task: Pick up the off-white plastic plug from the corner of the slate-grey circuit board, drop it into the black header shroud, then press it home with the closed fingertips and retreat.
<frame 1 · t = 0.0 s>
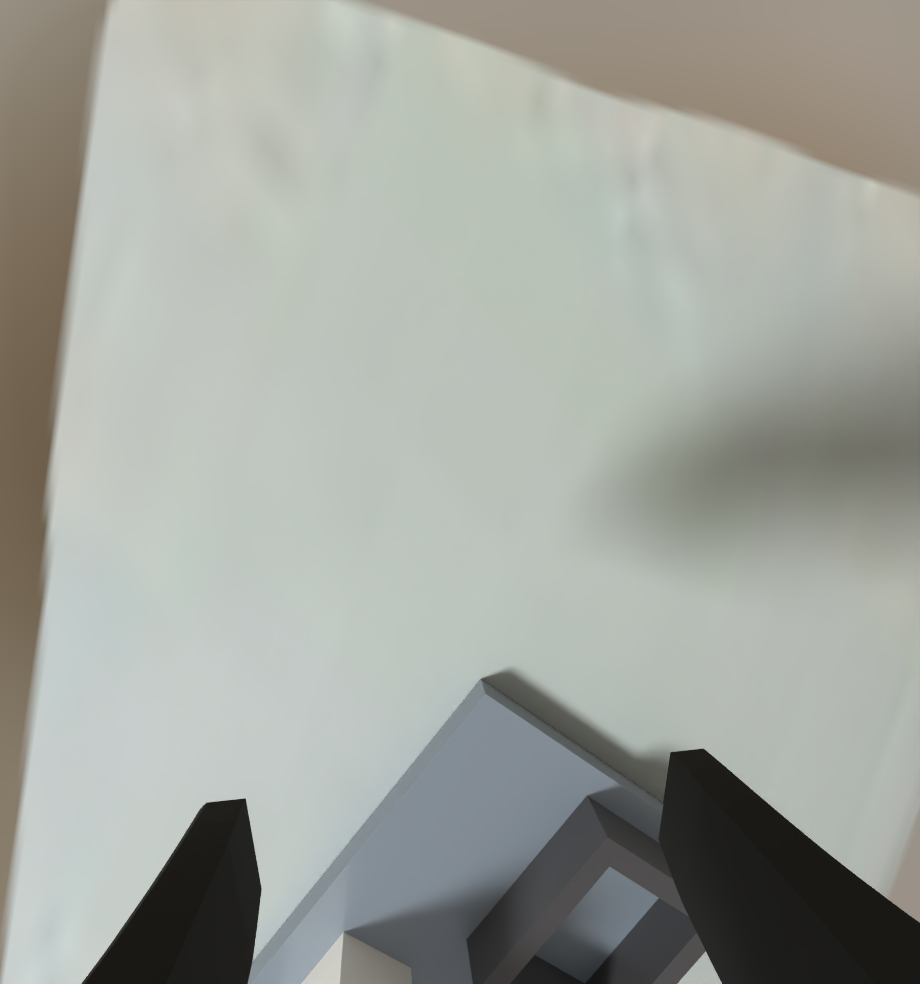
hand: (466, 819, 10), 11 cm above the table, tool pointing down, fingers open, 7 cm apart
board: (481, 912, 23), on the table
header: (587, 905, 22), resting on board
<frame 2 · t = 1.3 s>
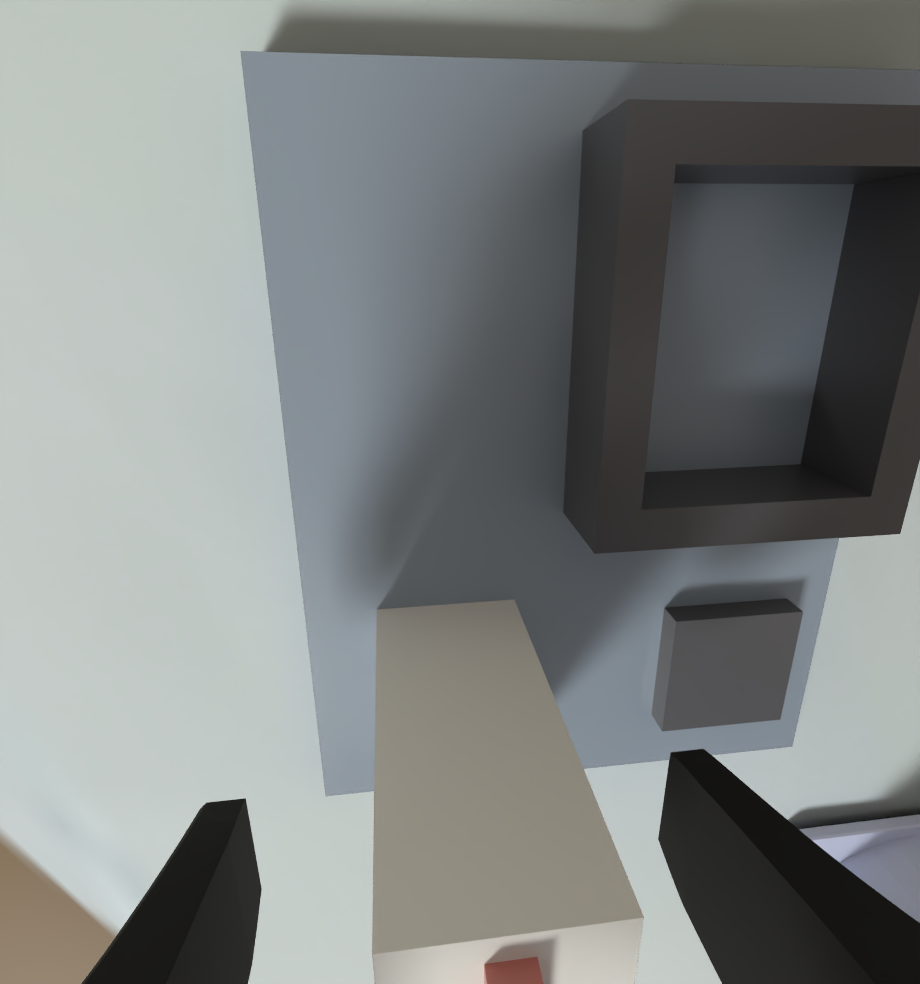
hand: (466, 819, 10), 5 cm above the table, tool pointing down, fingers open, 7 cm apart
board: (573, 473, 13), on the table
header: (721, 337, 12), resting on board
plug: (447, 681, 14), point 1 cm above the table, touching board
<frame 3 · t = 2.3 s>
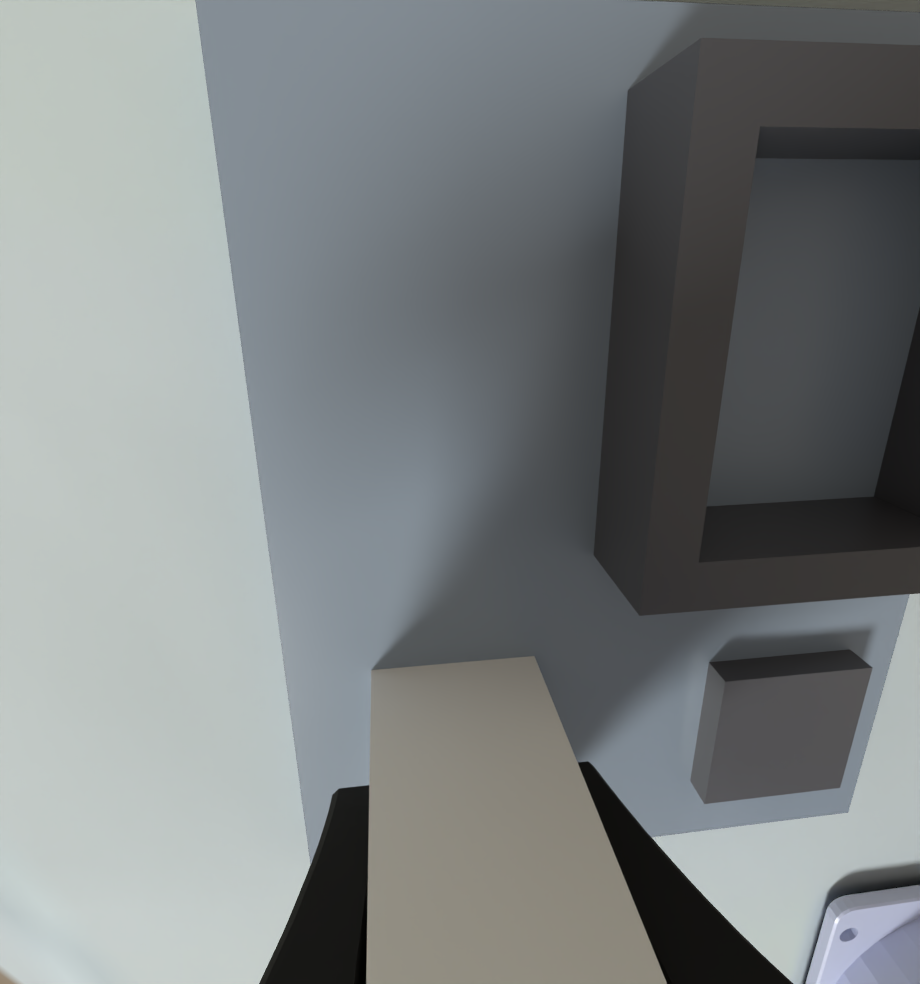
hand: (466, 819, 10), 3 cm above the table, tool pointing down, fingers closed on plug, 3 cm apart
board: (603, 506, 11), on the table
header: (787, 347, 10), resting on board
plug: (455, 749, 12), point 1 cm above the table, touching board, gripper
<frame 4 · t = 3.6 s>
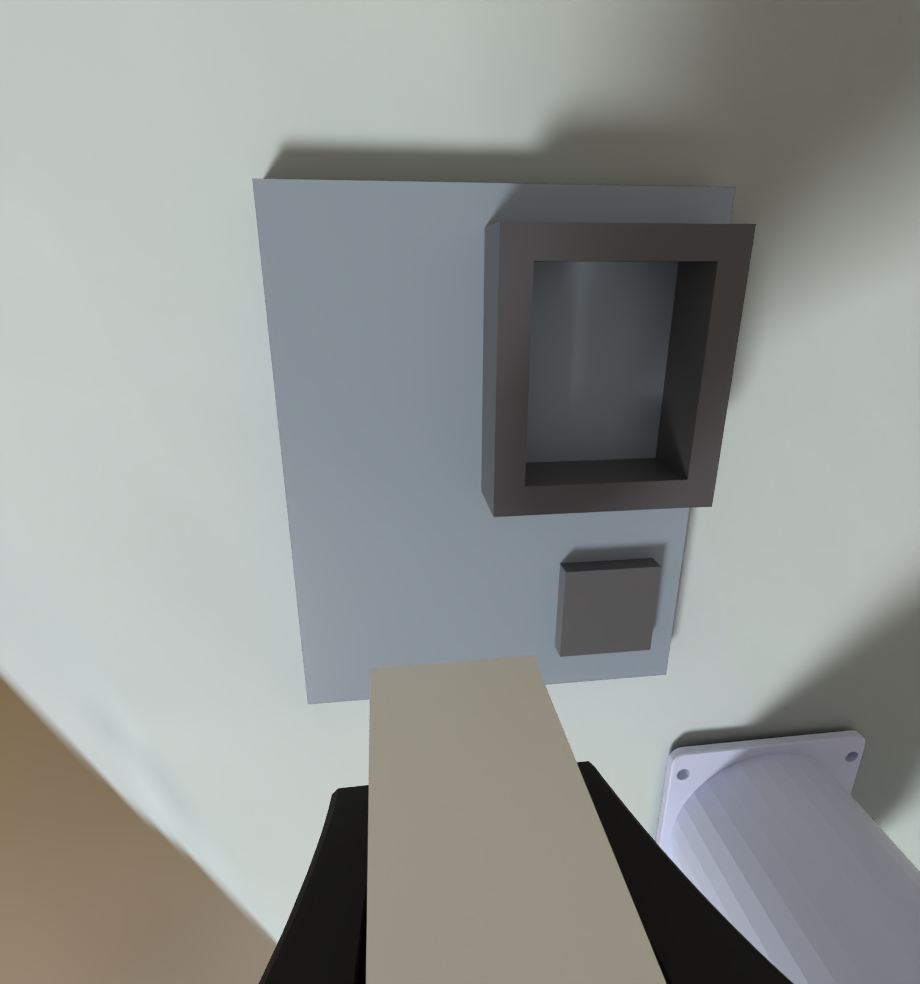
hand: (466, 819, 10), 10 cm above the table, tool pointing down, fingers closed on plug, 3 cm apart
board: (492, 463, 18), on the table
header: (590, 366, 17), resting on board
plug: (453, 748, 12), point 8 cm above the table, touching gripper
when the fingers open (5 cm above the table, at t = 5.3 s): plug drops 3 cm, resting on board.
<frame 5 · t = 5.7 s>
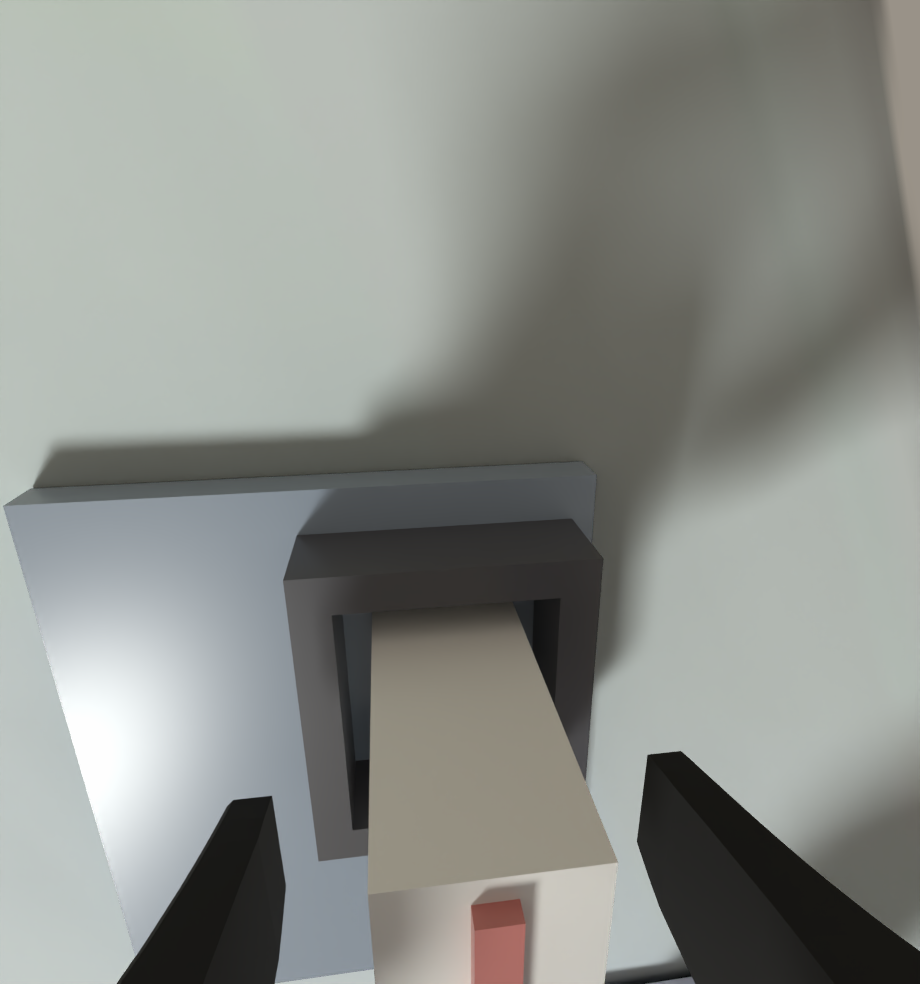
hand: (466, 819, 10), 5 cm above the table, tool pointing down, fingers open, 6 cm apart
board: (346, 742, 16), on the table
header: (441, 662, 14), resting on board
plug: (441, 661, 14), point 1 cm above the table, touching board
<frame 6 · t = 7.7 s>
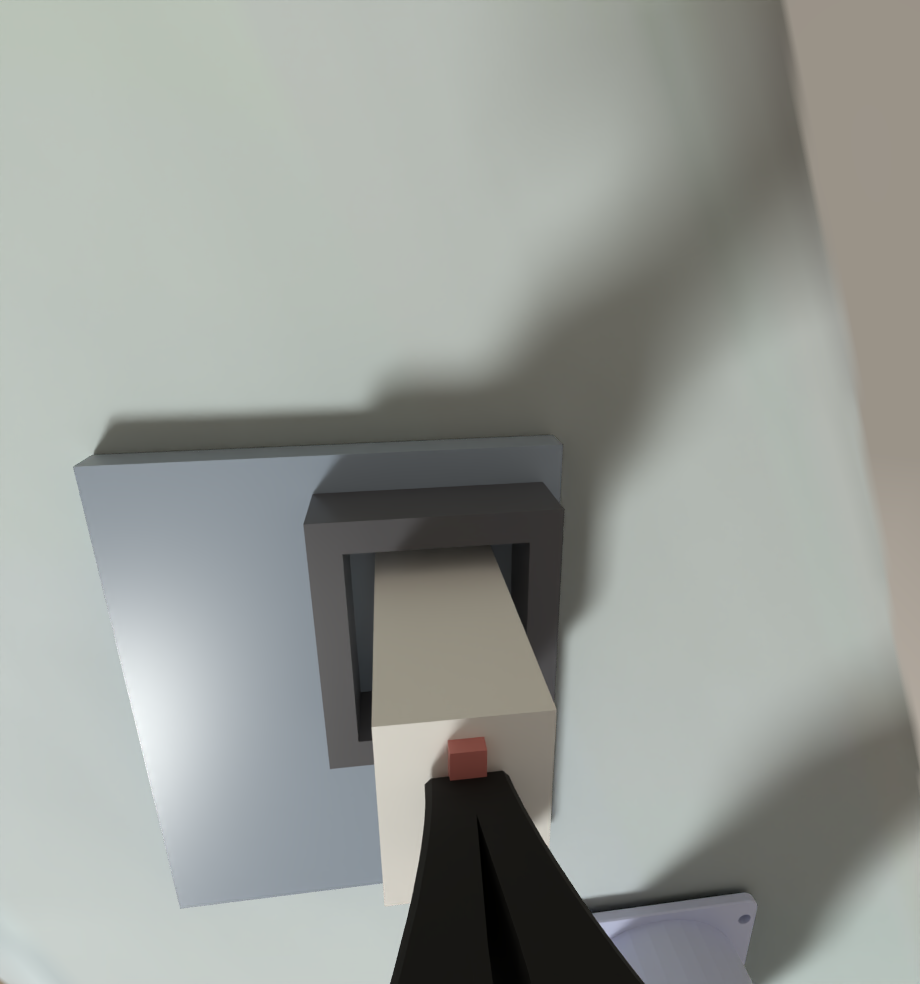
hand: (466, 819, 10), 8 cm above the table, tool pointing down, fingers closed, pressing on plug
board: (352, 679, 19), on the table
header: (433, 605, 17), resting on board
plug: (433, 605, 17), point 1 cm above the table, touching board, gripper
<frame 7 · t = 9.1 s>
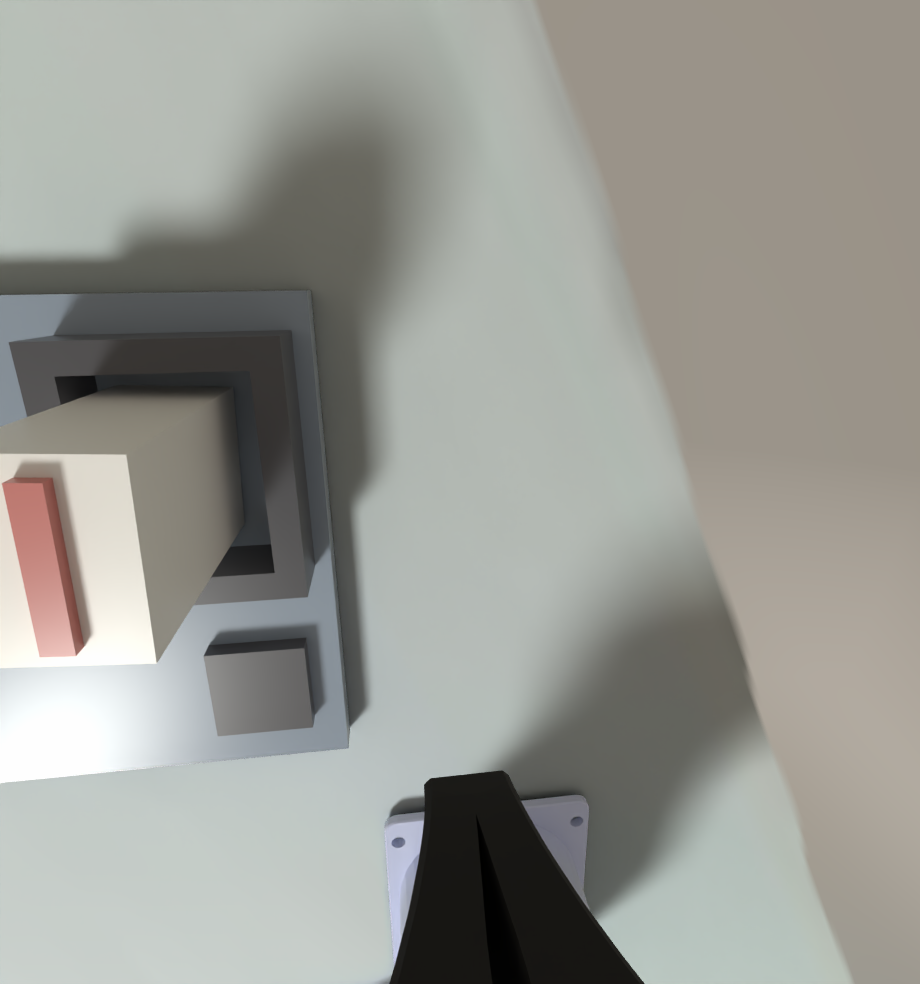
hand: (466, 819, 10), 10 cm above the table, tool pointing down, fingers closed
board: (135, 548, 19), on the table
header: (195, 460, 17), resting on board
plug: (183, 457, 17), point 1 cm above the table, touching board
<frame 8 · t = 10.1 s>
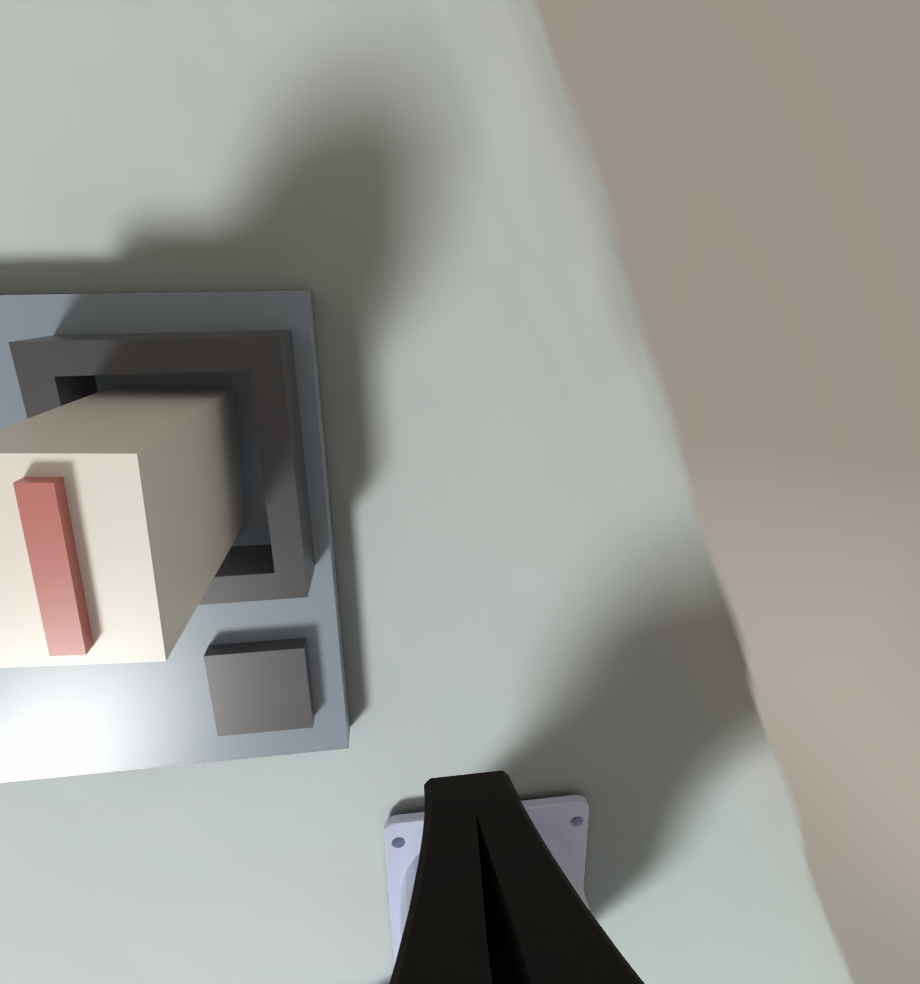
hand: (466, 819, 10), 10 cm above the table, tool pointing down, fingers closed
board: (135, 548, 19), on the table
header: (195, 460, 17), resting on board
plug: (184, 457, 17), point 1 cm above the table, touching board
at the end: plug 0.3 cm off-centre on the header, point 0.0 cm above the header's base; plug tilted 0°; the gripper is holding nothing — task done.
